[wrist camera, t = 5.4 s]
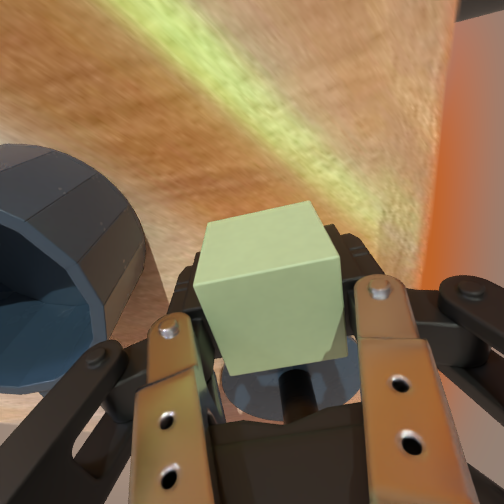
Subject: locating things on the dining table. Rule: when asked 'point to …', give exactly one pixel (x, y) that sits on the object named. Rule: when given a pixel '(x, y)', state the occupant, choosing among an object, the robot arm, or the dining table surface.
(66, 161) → the pot
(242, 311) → the block
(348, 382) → the lid
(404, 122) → the dining table surface
